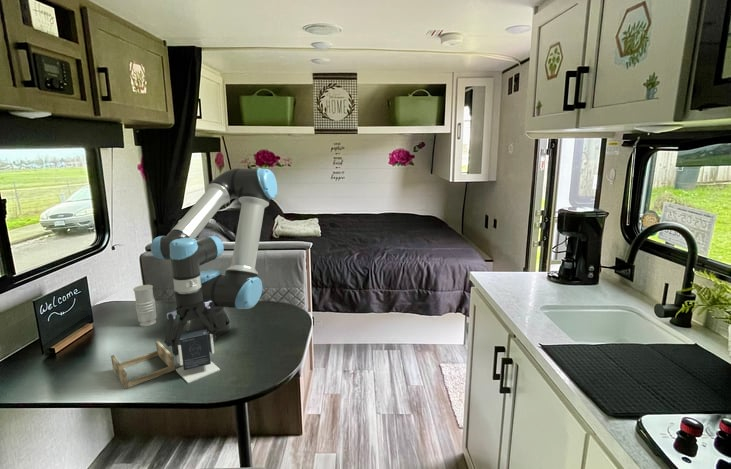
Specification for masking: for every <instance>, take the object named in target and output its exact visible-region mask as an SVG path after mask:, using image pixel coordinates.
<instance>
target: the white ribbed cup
mask: <svg viewBox="0 0 731 469" xmlns="http://www.w3.org/2000/svg"><path fill="white" fill-rule="evenodd" d="M153 287H154V286H153V285H152V284H142V285H138V286H135V287H134V288H133V289H132V290H133V291H134V298H135V302H134V303H135V310H136V312H135V313H137V321H138V322H140V323H139V326H141V327H149V326H150V327H151V326H152V325H154V324H156V323H157V320H156V318H158V314H157V306H156V300H155V297H154V291H153Z"/></svg>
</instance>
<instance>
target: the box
mask: <svg viewBox="0 0 731 469" xmlns="http://www.w3.org/2000/svg"><path fill="white" fill-rule="evenodd" d="M179 344H180V345H181V351H182V359H183V365H182V367H184V370H188V369H192V368H196V367H200V366H205V365H209V364H211V362H212V360H211V352H209V343H208V334H207V330H206V327H203V328H198V329H193V330H189V329H188V330H183V332H182V335H181V338H180V340H179Z"/></svg>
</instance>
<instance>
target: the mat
mask: <svg viewBox="0 0 731 469" xmlns="http://www.w3.org/2000/svg"><path fill="white" fill-rule="evenodd" d="M175 371H176V372H177V374H178V375H179V376H180V377H181V379H183V380H184V381H185V382H186V383H187V384H190V383H192V382H195V381H198V380H200V379H202V378H205V377H207V376H209V375H212V374H215V373H217V372H219V371H221V369H220V368H219V367H218V366H217V365H216V364H215V363H214V362H213V361H211V364H209V365H205V366H200V367H196V368H192V369H188V370H184V367H183V366H180V367H177V368H175Z"/></svg>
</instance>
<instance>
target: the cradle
mask: <svg viewBox="0 0 731 469" xmlns="http://www.w3.org/2000/svg"><path fill="white" fill-rule="evenodd" d="M155 346H156V350H155V351H153V352H150V353H146V354H144V355H140V356H137V357H134V358H132V359H128V360H126V361H122V362H119V360H118V359H117V357H116V356H115V355H114V354H113V355H110V358H111V365H112V370H114V371H113V373H114V374H115V373H116V374H115V375H116V377H117V378H118V380H119V381H120V383H121V384H122V386H123V387H124V389H126V390H127V389H129V388H132V387H135V386H136V385H139V384H142V383H144V382H147V381H149V380H151V379H155V378H158V377H160V376H162V375H166V374H168V373H171V372H173V371H176V367H175V365H176V364H175V359H174V354H173V353H172V352H170V351H169V350H168V349H167V348H166V347H165V346H164V345H163V344H162V343H161V342H160V340H156V341H155ZM155 357H159V358H160V359H161V360H162V361H163V362H164V363H165V365H166V367H164V368H161V369H159V370H155V371H153V372H150V373H148V374H144V375H142V376H138V377H136V378H134V379H130V380H129V381H128V375H127V371H126V370H125V369H124V368H127V367H130V366H133V365H135V364H138V363H141V362H144V361H147V360H150V359H153V358H155Z"/></svg>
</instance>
